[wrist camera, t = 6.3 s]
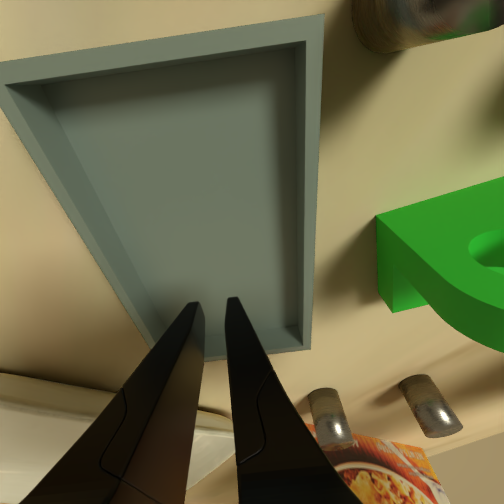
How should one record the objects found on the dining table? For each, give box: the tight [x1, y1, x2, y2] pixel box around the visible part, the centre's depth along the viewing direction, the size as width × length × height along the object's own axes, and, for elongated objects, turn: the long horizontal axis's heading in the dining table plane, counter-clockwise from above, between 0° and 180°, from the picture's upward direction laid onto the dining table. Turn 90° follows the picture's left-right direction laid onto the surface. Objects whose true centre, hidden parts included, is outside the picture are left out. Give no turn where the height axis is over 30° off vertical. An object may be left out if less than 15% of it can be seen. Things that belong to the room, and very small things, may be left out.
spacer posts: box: [308, 0, 504, 451], centre depth 14 cm, size 19×31×4 cm, turn 7°
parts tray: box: [0, 14, 325, 362], centre depth 12 cm, size 10×16×2 cm, turn 7°
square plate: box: [0, 373, 235, 504], centre depth 25 cm, size 27×27×4 cm
